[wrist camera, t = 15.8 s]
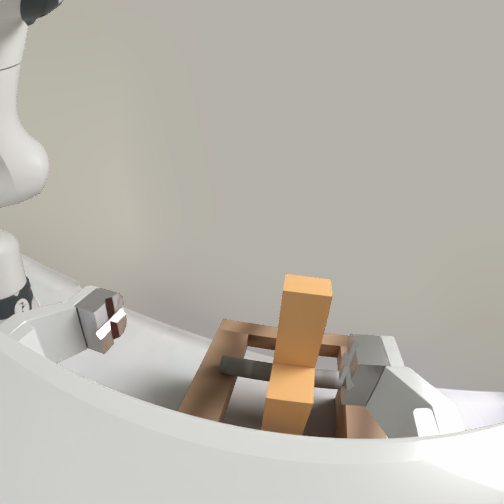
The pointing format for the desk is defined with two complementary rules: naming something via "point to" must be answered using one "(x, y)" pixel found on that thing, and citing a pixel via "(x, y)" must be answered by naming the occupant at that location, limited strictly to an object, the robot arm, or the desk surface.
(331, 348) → the tan rectangular frame
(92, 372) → the desk surface
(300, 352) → the tall tan upright block
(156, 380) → the desk surface
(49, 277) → the desk surface
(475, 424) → the desk surface
